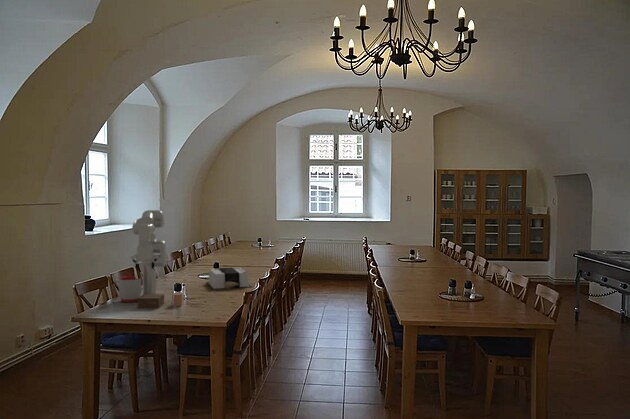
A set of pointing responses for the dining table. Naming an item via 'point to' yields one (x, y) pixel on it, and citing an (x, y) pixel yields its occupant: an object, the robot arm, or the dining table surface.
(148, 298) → the walnut block
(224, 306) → the dining table surface
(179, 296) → the terracotta block
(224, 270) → the grey black bridge block
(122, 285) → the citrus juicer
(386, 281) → the dining table surface
